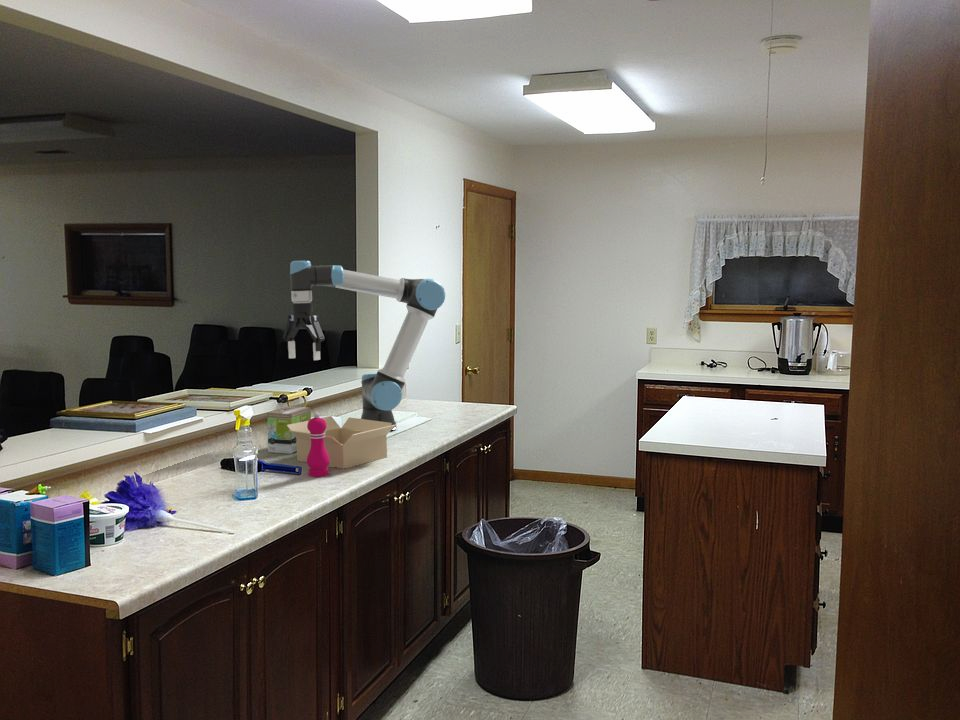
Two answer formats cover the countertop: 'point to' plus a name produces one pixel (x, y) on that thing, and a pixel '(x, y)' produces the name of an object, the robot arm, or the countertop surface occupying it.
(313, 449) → the pepper mill
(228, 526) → the countertop surface
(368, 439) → the carton
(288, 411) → the tea box
